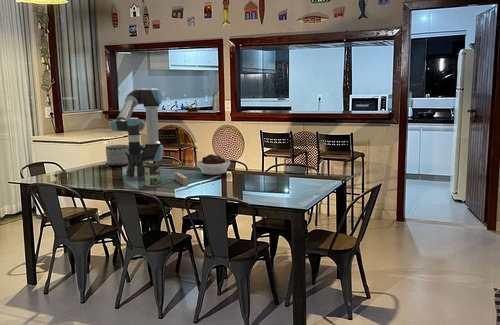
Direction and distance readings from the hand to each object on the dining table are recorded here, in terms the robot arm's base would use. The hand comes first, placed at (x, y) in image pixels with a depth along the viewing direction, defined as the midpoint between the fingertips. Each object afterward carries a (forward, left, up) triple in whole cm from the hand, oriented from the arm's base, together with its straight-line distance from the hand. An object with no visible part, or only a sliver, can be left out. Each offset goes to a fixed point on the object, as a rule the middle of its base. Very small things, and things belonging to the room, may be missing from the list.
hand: (135, 176), depth 324 cm
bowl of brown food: (-17, +62, -8) cm, 65 cm away
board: (0, +31, -7) cm, 32 cm away
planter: (-93, +4, -7) cm, 94 cm away
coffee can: (0, +11, -7) cm, 13 cm away
